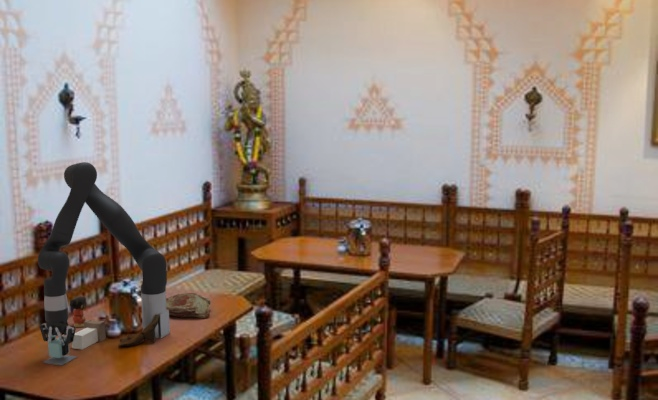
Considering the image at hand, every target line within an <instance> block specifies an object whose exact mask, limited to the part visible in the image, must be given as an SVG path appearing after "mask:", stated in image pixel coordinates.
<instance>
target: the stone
mask: <svg viewBox="0 0 658 400" xmlns="http://www.w3.org/2000/svg"><path fill="white" fill-rule="evenodd" d="M210 305H211V299H210V297H209V298H208V297H207V296H204V295H201V294H197V293H195V292H185V293H177V294H175V295H172V296H169V297H166V308H167V309H168V310H169V316H172V317H173V316H174V317H178V318H179V317H189V318H190V317H191V318H192V317H196V318H201V319H202V318H203V319H205V318H207V317H208V315H209V313H210Z"/></svg>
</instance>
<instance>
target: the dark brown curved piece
mask: <svg viewBox="0 0 658 400" xmlns="http://www.w3.org/2000/svg"><path fill="white" fill-rule="evenodd" d="M158 319H159V316H158V315H156V316H155V318H154V319H153V321H152V323H151V324H149V325H148V326H147V327H145V329H144V330H143V329H142V330H141V331H140V332H138V333H132V334H130V333H127V334H126V335H125V336H124V337H121V338H120V339H119V341H120V342H119V343H118V344H117V346H118V347H122V348H123V347H129V346H137V345H140V344H142V343H143V342H144V341H145V340H146V341H147V340H149V341H150V342H151V343H153V344H154V343H155V342H156V340H155V339H156V338H154V330H155V328H156V326H157V324H158Z"/></svg>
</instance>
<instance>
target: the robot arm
mask: <svg viewBox="0 0 658 400" xmlns="http://www.w3.org/2000/svg"><path fill="white" fill-rule="evenodd" d="M97 179H98V171H97V169H96V167H95V166H94V165H93V164H92V163H91V162H84V161H82V162H78V163H73V164H71V165H69V166H67V167H66V168H65V170H64V172H63V180H64V181H65V183H66V185H67V186H68V187H69V188H70V191H69V193H68V197H67V199H66V200H65V202H64V204H63V206H62V207H61V209H60V211H59V213H58V215H57V216H56V219H55V220H54V223H53V226H52V229H51V232H50V236H49V237H48V239H47V240H46V241H45V243H44V245H43V246H42V247H41V249H40V250H39V253H38V255H37V264H38V266H39V268H40V269H42V270H45V271H50V272H52V273H51V276H49V277H47V278H44V281H43V293H44V301H43V303H44V306H43V307H44V319H45V322H44V323H42V324H40V325H39V330H40V333H41V336H42V339H43V341H44V342H47V344H48V343H49V342H51V341H53V340H55V339H57V338H59V340H61V343H62V355H64V356H65V355H69V353H70V346H69V347H68V344H69V345H70V344H72V342H73V340H74V335H75V333H76V330H77V329H76V328H77V327H75V326H71V325H69V322H68V320H69V308H68V307H69V304H68V297H67V286H66V281H67V277H68V272H69V268H70V259H69V256H68V254H67V253H66V252H65V251H62V250H61V249H62V248H63V247H66V246H69V245H70V243H71V241H72V239H73V236H74V233H75V230H76V227H77V223H78V221H79V217H80V216H81V212H82V210H83V208H84V206H85V204H86V205H87V207H88V208H89V209H90V210H91V211H92V212H93V214H94V215H95V216H96V218H97V219H98V220H99V221H100V222H101V224H102V225H103V226H104V227H105V229H106V230H107V231H108V232H109V233H110V234H111V235H112V236H113V237H114V238H115V239H116V240H117V241H118V242H119V243H120V244H121V245H122V246H124V248H125V249H126V250H127V251H128V252H129V254H130V255H131V256H132V258H133V259H134V261H135V262H136V265H137V266H138V267H139V269H140V270H141V271H142V272H141V273H142V284H141V285H140V298H141V299H140V300H141V318H142V319H141V321H142V330H144V329H145V327H147V326H148V325H149V324H151V323H152V321H153V319H154V318H155V316H156V315H158V316H159V319H158V324H157V326H156V328H155V330H154V338H155V339H162V338H164V337H166V336H167V335H169V334H171V331H170V329H171V328H170V324H171V323H170V314H169V310H168V309H167V308H166V299H167V292H166V291H167V288H166V287H167V283H168V273H167V272H168V271H167V270H168V269H167V268H168V267H167V266H168V265H167V260H166V258H165V256H164V255H163V253H161V252H159V251H158V250H157V249H155V248H154V247H153V246H152V245H151V244H150V243H149V242H148V241H147V240H146V239H145V238H144V237H143V235H141V232H140V231H139V228H138V227H137V224H135V222H134V220H133V218H132V217H131V216H130V215H129V213H128V212H127V211H126V210H125V208H124V207H122V205H120V203H118V202H117V201H115V200H114V199H113V198H111V197H110V196H108V195H107V194H105V192H103V191H102V190H101V189H100V188H99V187H98V186H97V184H96V182H97ZM64 339H65V341H64ZM68 352H69V353H68Z"/></svg>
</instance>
